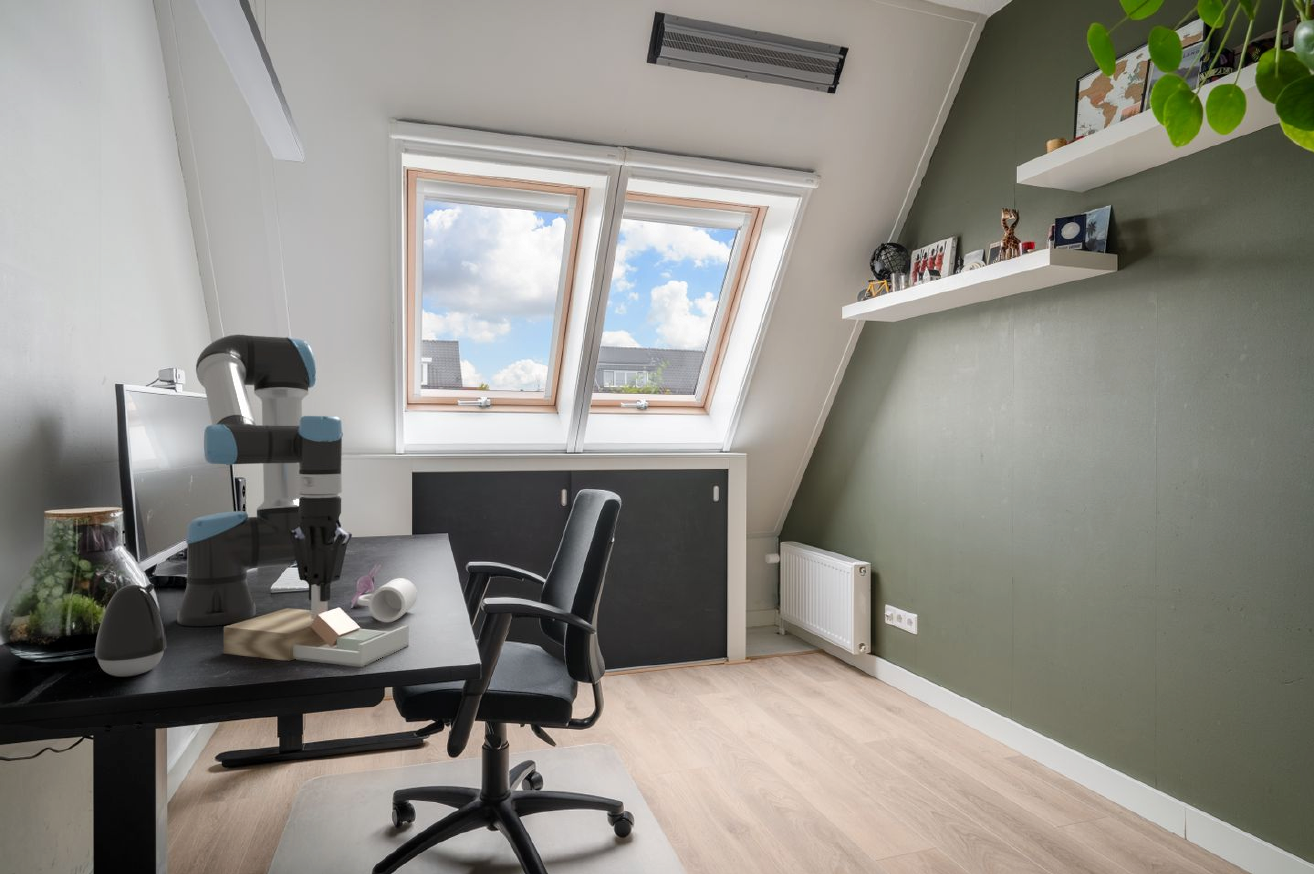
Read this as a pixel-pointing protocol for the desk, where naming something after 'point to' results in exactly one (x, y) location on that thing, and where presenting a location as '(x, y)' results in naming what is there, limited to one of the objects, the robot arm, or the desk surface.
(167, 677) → the desk surface
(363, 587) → the lily
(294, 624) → the oak board
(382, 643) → the tray
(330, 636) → the tile terracotta
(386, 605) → the mug
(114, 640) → the grey egg-shaped pod
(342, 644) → the tile grey
